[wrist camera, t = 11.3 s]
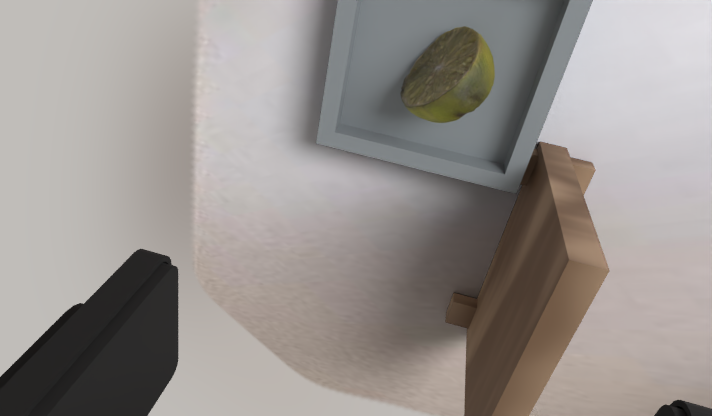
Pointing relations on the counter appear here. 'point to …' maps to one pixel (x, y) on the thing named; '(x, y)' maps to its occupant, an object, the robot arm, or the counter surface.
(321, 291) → the counter surface
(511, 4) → the slate dish
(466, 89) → the lime
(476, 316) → the walnut board
